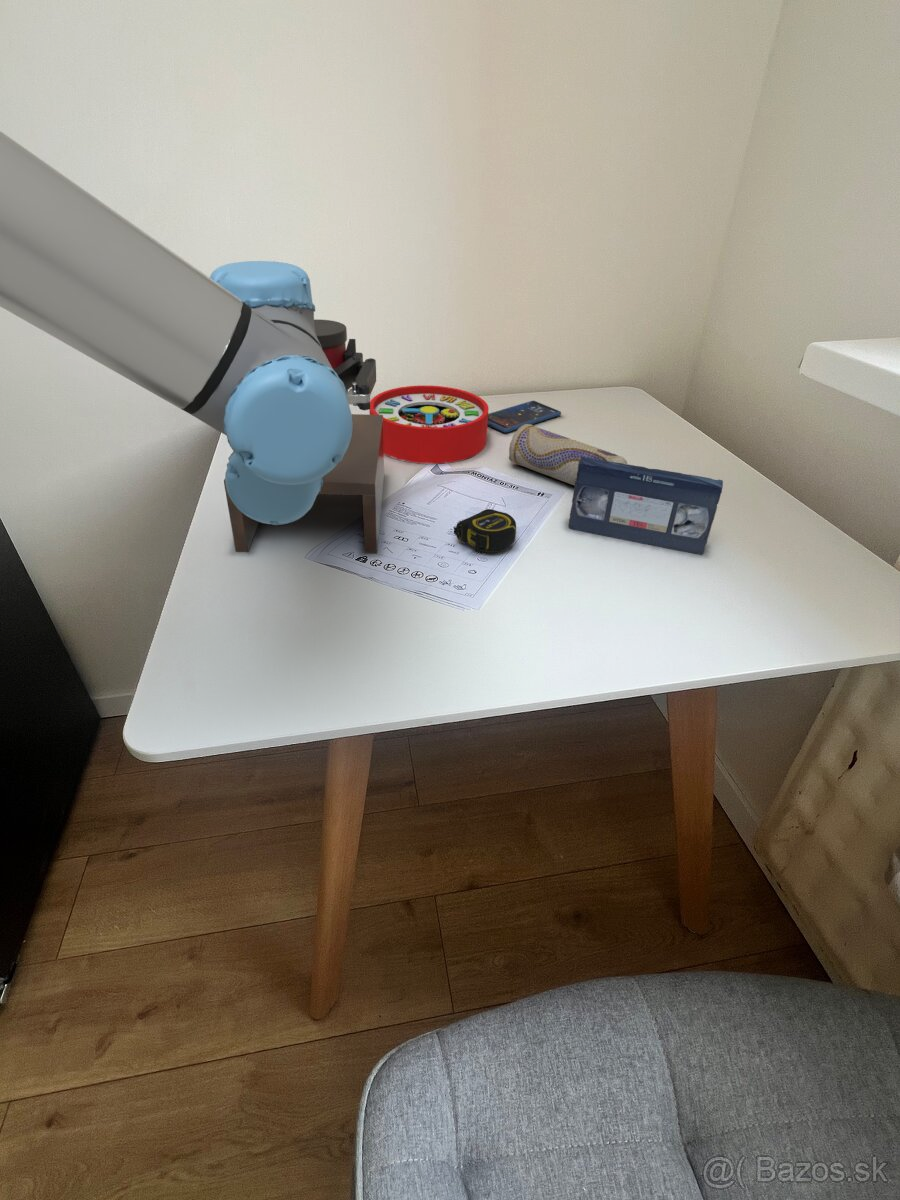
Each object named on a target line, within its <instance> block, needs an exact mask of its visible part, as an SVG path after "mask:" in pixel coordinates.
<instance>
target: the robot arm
mask: <svg viewBox="0 0 900 1200" xmlns="http://www.w3.org/2000/svg"><path fill="white" fill-rule="evenodd" d="M311 287H312V286H311V281H310V277H309V274H308V273H307V272H306V271H305V270H304V269H303V268H301V267H300V266H298V265H295V264H293V263H289V262H283V261H274V260H273V261H271V260H248V261H247V260H246V261H245V260H244V261H235V262H230V263H226V264H224V265H220V266H218V267H216V268H215V269H214V270H213V271H212V272H211V274H210V276H208V275H207V274H205V273H204V272H202V270H200V269H198V268H197V267H196V266H194V265H193V264H191V263H190V262H189V261H187V260H185V259H184V258H183V257H181V256H179V255H178V254H176V253H175V252H174V251H172V250H171V249H170V248H169V247H167V246H165V245H164V244H163V243H161V242H160V241H158V240H157V239H155V238H154V237H152V236H151V235H150V234H148V233H147V232H145V231H144V230H142V229H141V228H140V227H138V226H137V225H135V224H134V223H132V222H131V221H130V220H128V219H126V218H125V217H124V216H122V215H121V214H119V213H118V212H117V211H115V210H114V209H112V208H111V207H110V206H108V205H107V204H105V203H104V202H102V201H101V200H100V199H98V198H97V197H95V196H94V195H92V194H91V193H89V192H88V191H87V190H85V189H84V188H83V187H81V186H80V185H78V184H77V183H75V182H74V181H73V180H71V179H70V178H68V177H67V176H66V175H64V174H63V173H61V172H60V171H59V170H58V169H55V168H54V167H53V166H51V165H50V164H49V163H47V162H46V161H44V160H43V159H41V158H40V157H39V156H37V155H35V154H34V153H33V152H32V151H30V150H28V149H27V148H25V146H22V145H21V144H20V143H18V142H17V141H16V140H14V139H13V138H11V137H10V136H8V134H6V133H4V132H2V131H1V130H0V308H2V309H4V310H5V311H7V312H9V313H11V314H13V315H14V316H16V317H18V318H20V319H21V320H23V321H25V322H26V323H28V324H30V325H32V326H34V327H35V328H37V329H39V330H40V331H41V330H42V331H43V332H44V333H45V334H48V335H50V336H51V337H53V338H55V339H57V340H58V341H60V342H62V343H63V344H66V345H67V346H69V347H71V348H73V349H74V350H75V351H78V352H80V353H81V354H83V355H85V356H87V358H90V359H92V360H94V361H95V362H97V363H99V364H101V365H103V366H104V367H106V368H108V369H109V370H111V371H113V372H115V373H117V374H119V375H120V376H122V377H123V378H125V379H127V380H129V381H131V382H133V383H135V384H136V385H138V386H139V387H141V388H143V389H144V390H147V391H148V392H150V393H151V394H154V395H156V396H157V397H159V398H161V399H163V400H164V401H166V402H167V403H170V404H171V405H173V406H175V407H176V408H178V409H180V410H181V411H184V412H186V413H187V414H188V415H190V416H192V417H194V418H195V419H197V420H199V421H201V423H204V424H206V425H207V426H209V427H211V428H213V429H214V430H216V431H217V432H219V433H221V434H223V435H224V436H225V437H226V440H227V443H228V445H229V447H230V449H232V453H231V454H230V455H229V456H228V462H227V463H226V471H225V476H224V479H225V484H226V489H227V492H228V495H229V497H230V499H231V500H232V502H233V503H234V505H235V506H236V507H237V508H238V509H239V510H240V511H241V512H242V513H243V514H245V515H246V516H248V517H249V518H251V519H253V520H256V521H258V522H259V523H261V524H265V525H266V524H267V525H273V526H279V525H286V524H291V523H293V522H296V521H298V520H300V519H301V518H303V517H304V516H305V515H306V514H307V513H308V512H309V511H310V510H311V509H312V508H313V505H314V503H315V501H316V499H317V496H318V495H319V494H318V493H319V492H320V490H321V487H322V485H323V476H324V475H326V474H327V473H329V472H330V471H331V470H332V469H333V468H334V467H336V465H337V464H338V463H339V462H340V461H341V460H342V458H343V456H344V454H345V453H346V451H347V449H348V446H349V443H350V440H351V436H352V425H353V422H352V414H353V413H352V411H351V407H350V405H352V406H354V407H358V409H359V410H361V411H369V409H370V401H371V395H372V393H373V390H374V388H375V385H376V383H377V360H376V359H375V358H371V357H370V358H366V359H365V360H364V354H363V353H362V352H357V346H356V345H357V343H356V338H349V339H348V342H347V345H346V352H345V362H344V363H342V364H341V365H339V366H338V367H337V368H335V369H334V370H333V368H332V366H331V364H330V363H329V361H328V359H327V357H326V355H325V353H324V351H323V348H322V346H321V344H320V342H319V340H318V338H317V336H316V334H315V326H314V320H315V312H316V306H315V304H314V302H313V296H312V289H311ZM347 390H348V392H346V391H347Z"/></svg>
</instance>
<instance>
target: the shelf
mask: <svg viewBox="0 0 900 1200" xmlns="http://www.w3.org/2000/svg"><path fill="white" fill-rule="evenodd" d="M351 414H352V422H353V425H352V436H351V440H350V443H349V446H348V449H347V451H346V453H345V454H344V456H343V458H342V460H341V461H340V462H339V463H338V464H337V465H336V467H334V468H333V469H332V470H331V471H330V472H329V473H327V474H326V475H324V476H323V485H322V487H321V490H320V492H319V493H318V495H343V496H345V495H346V496H347V495H349V496H350V495H351V496H352V495H353V496H362V519H363V520H362V521H363V544H364V545H363V546H364V553H365V554H378V548H379V538H380V537H379V536H380V525H381V514H382V504H383V493H384V484H385V483H384V481H385V455H384V447H383V415H370V414H361V413H360V414H357V413H351ZM223 485H224V491H225V496H226V502H227V508H228V509H227V510H228V514H229V519H230V520H229V521H230V527H231V532H232V533H231V534H232V538H233V543H234V544H233V545H234V550H235V552H237V553H238V552H240V553H242V552H245V553H246V552H249V549H250V547H251V546H252V545H251V544H252V542H253V539H254V536H255V534H256V531H257V529H258V526H259V524H260V522H258V521H256V520H253V519H251V518H249V517H248V516H246V515H245V514H243V513H242V512H241V511H240V510H239V509H238V508H237V507H236V506H235V505H234V503H233V502H232V500H231V499H230V497H229V495H228V492H227V489H226V484H225V478H224V479H223Z"/></svg>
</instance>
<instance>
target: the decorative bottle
mask: <svg viewBox="0 0 900 1200" xmlns="http://www.w3.org/2000/svg"><path fill="white" fill-rule="evenodd" d="M581 457H584V458H591V459H596V460H603V461H610V462H617V463H623V464H628V461H627V459H626V458H624V457H623V456H621V455H618V454H616V453H612V452H611V451H607V450H604V449H601V448H599V447H596V446H593V445H591V444H587V443H584V442H581V441H578V440H577V439H572V438H569V437H566V436H564V435H561V434H558V433H555V432H552V431H550V430H546V429H544V428H542V427H541V428H540V427H537V426H535V425H534V424H524V425H523V426H521V427H520V428H519V429H516V430H515V432H514V434H513V436H512V438H511V440H510V443H509V448H508V459H509V460H510V462H512V463H513V464H514V465H516V466H517V465H518V466H520V467H524V468H527V469H529V470H532V471H535V472H536V473H539V474H542V475H545V476H548V477H550V478H553V479H556V480H558V481H561V482H564V483H566V484H569V485H572V486H574V487H575V482H576V479H577V471H578V464H579V461H580V460H581ZM638 475H639V474H638Z"/></svg>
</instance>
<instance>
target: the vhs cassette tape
mask: <svg viewBox="0 0 900 1200" xmlns="http://www.w3.org/2000/svg"><path fill="white" fill-rule="evenodd" d="M638 474H639V475H638ZM723 485H724V481H723V479H715V478H710V477H707V476H700V475H694V474H687V473H682V472H676V471H670V470H665V469H658V468H648V467H645V466H639V465H634V464H629V463H627V464H623V463H617V462H610V461H603V460H596V459H591V458H584V457H581V460H580V461H579V464H578V471H577V479H576V482H575V486H574V487H573V493H572V499H571V503H572V504H571V507H570V513H569V520H568V528H569V529H570V530H575V531H580V532H584V533H589V534H595V535H599V536H605V537H609V538H614V539H620V540H625V541H628V542H629V541H630V542H635V543H639V544H644V545H649V546H654V547H658V548H665V549H670V550H675V551H680V552H684V553H691V554H697V555H703V554H704V553H705V551H706V548H707V544H708V540H709V537H710V533H711V529H712V526H713V523H714V520H715V516H716V514H717V510H718V505H719V503H720V500H721V495H722V493H723V487H724V486H723Z"/></svg>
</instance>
